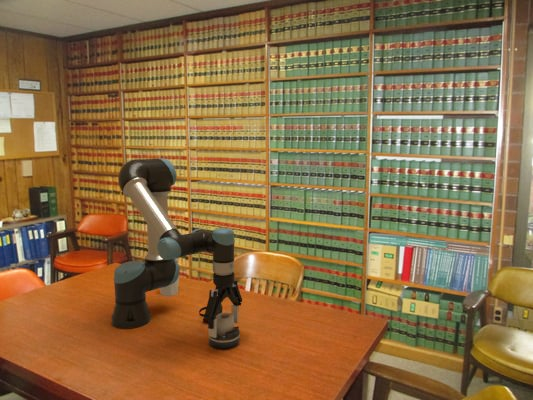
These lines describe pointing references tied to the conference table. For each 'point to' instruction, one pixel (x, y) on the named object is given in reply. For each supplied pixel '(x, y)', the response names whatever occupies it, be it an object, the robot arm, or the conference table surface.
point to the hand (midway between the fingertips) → (224, 329)
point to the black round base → (226, 340)
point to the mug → (170, 289)
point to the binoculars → (212, 315)
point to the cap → (224, 323)
